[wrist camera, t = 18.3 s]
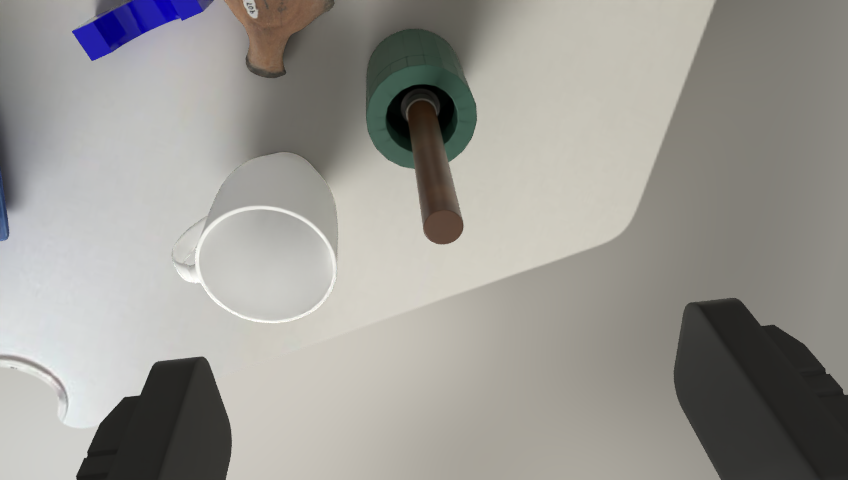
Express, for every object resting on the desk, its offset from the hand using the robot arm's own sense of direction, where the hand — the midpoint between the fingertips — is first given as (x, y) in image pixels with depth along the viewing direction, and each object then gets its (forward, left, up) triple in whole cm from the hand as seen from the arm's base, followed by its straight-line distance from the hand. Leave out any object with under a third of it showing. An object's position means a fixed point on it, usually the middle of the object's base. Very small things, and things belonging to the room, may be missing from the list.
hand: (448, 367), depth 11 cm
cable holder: (+16, 0, -38) cm, 42 cm away
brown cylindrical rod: (-1, +7, -38) cm, 38 cm away
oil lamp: (+8, +1, -38) cm, 39 cm away
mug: (+11, +15, -38) cm, 43 cm away
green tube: (-1, +7, -38) cm, 39 cm away
